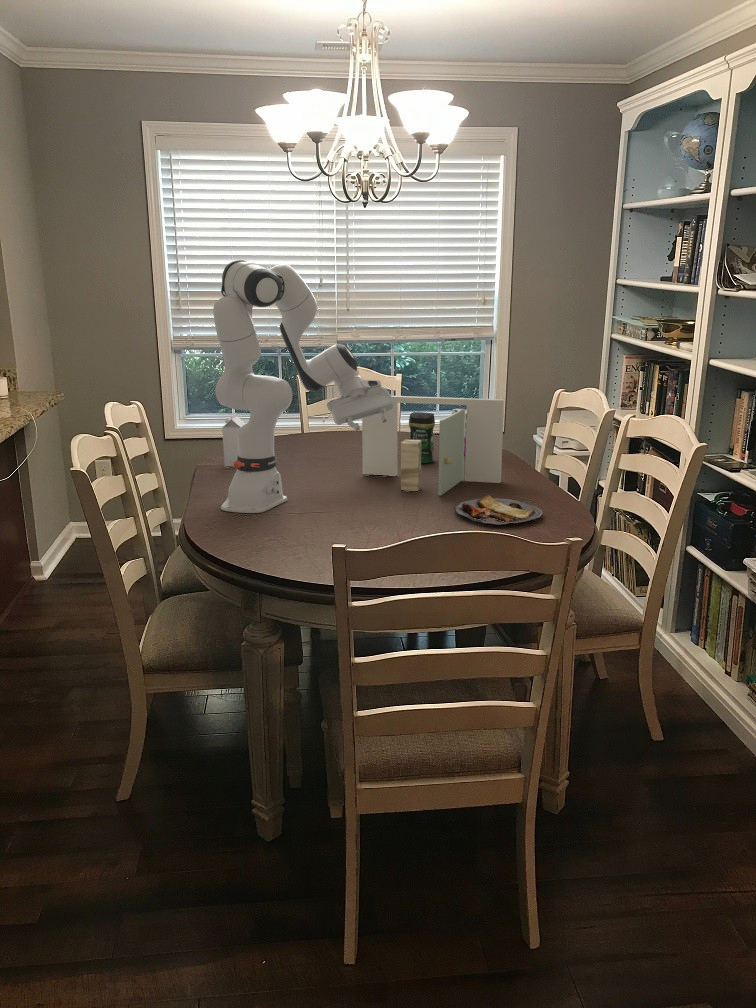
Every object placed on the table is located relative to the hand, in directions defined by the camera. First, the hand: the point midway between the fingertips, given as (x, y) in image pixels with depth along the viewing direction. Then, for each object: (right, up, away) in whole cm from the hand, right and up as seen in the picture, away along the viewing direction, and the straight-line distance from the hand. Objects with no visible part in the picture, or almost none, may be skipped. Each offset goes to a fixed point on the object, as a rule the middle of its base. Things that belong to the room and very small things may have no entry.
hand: (371, 425), depth 255 cm
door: (+27, -19, +10) cm, 35 cm away
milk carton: (-50, -11, +43) cm, 67 cm away
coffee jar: (+18, -9, +48) cm, 52 cm away
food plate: (+37, -29, -18) cm, 50 cm away
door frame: (+20, -16, +23) cm, 35 cm away
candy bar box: (+36, -4, +63) cm, 73 cm away
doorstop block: (+13, -20, +10) cm, 26 cm away
